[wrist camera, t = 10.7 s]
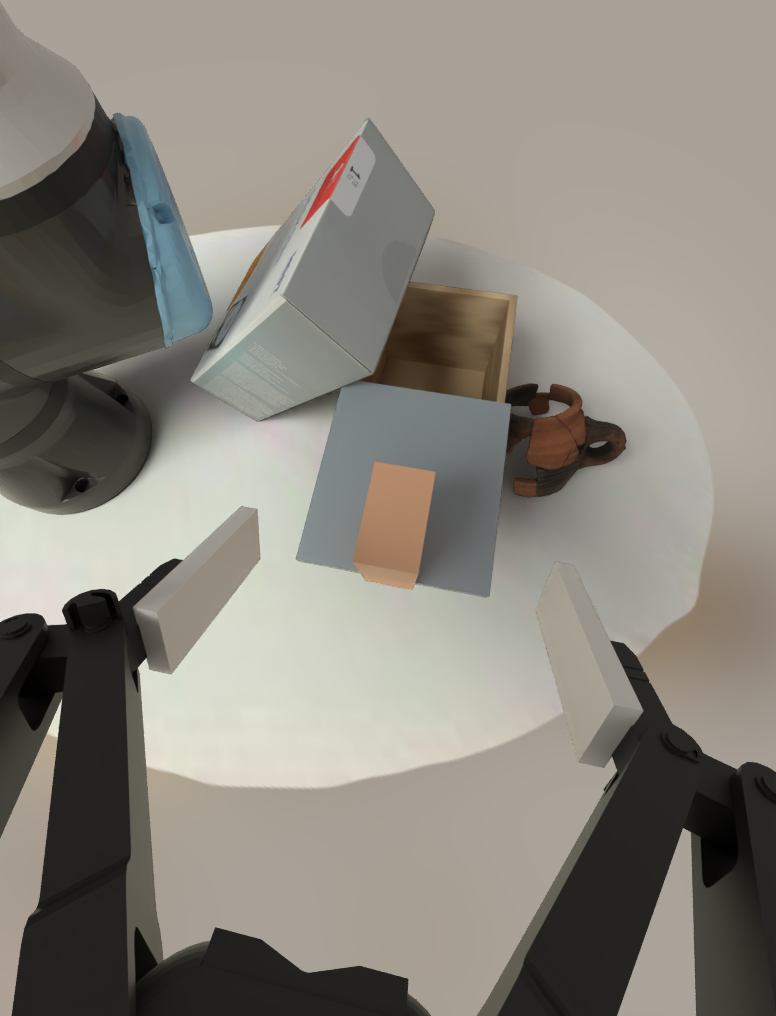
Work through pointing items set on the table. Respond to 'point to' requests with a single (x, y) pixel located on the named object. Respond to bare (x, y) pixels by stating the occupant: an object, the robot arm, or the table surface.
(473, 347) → the carton
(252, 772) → the table surface
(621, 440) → the pottery mug
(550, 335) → the table surface
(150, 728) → the table surface
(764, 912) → the robot arm
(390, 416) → the lid
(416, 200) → the hard drive box
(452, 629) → the table surface
